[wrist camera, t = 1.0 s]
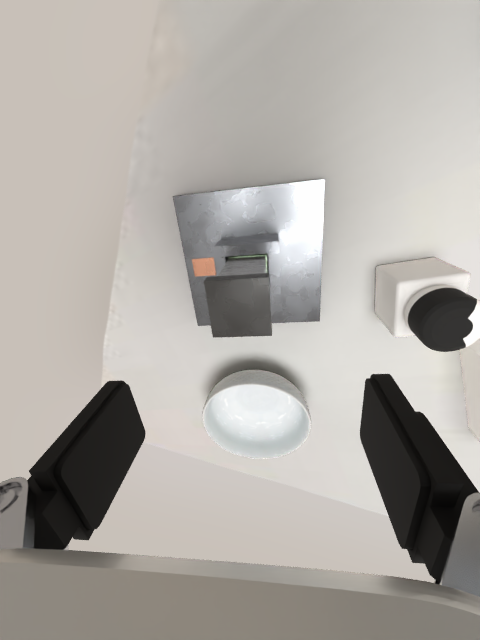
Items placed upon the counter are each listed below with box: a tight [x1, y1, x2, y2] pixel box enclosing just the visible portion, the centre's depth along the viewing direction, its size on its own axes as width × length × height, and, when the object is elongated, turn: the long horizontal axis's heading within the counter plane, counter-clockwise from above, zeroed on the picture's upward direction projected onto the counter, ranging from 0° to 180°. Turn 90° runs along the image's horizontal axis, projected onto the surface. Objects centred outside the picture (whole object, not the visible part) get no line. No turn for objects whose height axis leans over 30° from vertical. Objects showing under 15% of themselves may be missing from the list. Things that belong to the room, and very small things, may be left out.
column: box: [204, 253, 272, 337], centre depth 28 cm, size 5×5×14 cm
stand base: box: [173, 179, 325, 326], centre depth 33 cm, size 18×18×7 cm
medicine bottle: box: [375, 257, 480, 352], centre depth 30 cm, size 7×7×12 cm
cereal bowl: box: [203, 370, 311, 459], centre depth 44 cm, size 17×17×7 cm
